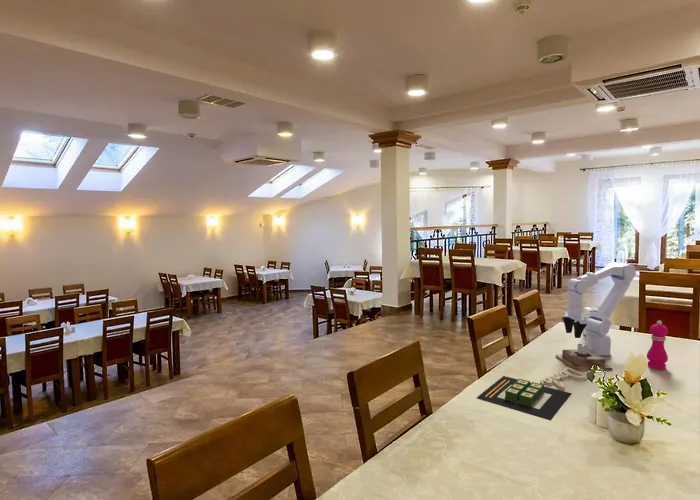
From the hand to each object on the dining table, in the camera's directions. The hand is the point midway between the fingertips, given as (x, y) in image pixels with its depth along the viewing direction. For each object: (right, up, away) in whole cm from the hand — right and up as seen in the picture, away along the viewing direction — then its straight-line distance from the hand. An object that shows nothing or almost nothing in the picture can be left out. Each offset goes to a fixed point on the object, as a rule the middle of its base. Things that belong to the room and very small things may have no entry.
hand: (573, 335), depth 194 cm
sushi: (-38, -15, -39) cm, 56 cm away
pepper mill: (+28, -11, -14) cm, 33 cm away
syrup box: (+25, -6, +30) cm, 39 cm away
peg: (-1, -9, -9) cm, 13 cm away
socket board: (0, -10, -9) cm, 13 cm away
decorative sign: (-17, -13, -26) cm, 33 cm away
